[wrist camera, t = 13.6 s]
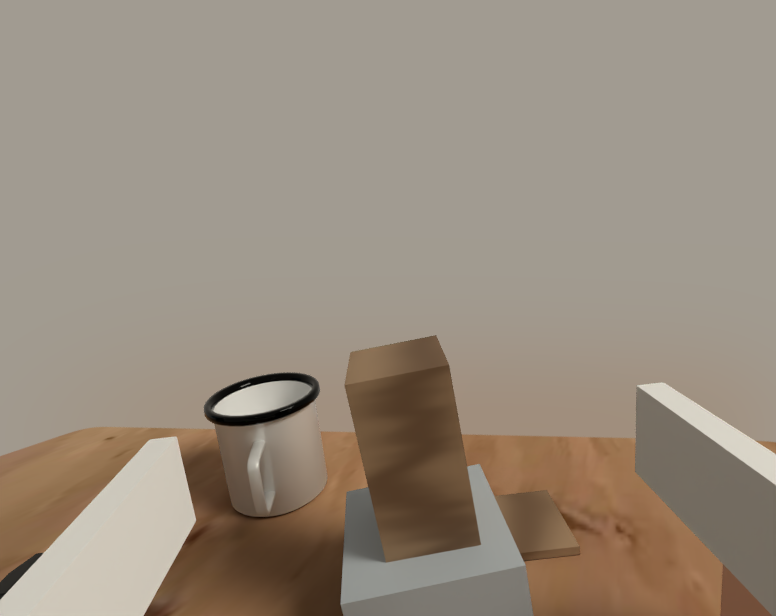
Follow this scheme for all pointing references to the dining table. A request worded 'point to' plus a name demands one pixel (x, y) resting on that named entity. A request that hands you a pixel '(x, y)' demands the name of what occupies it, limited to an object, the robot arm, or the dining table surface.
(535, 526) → the walnut tile
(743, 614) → the terracotta block
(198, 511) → the dining table surface
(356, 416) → the walnut block
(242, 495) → the mug
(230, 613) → the dining table surface
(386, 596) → the grey block
